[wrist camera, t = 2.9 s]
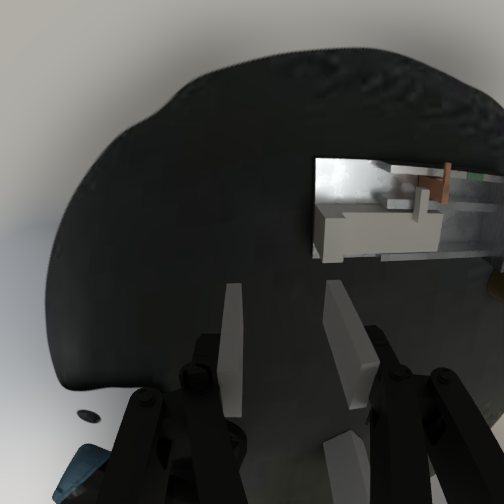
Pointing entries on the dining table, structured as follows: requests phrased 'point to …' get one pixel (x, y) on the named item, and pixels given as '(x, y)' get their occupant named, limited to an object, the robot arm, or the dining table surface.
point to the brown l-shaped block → (437, 185)
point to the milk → (348, 469)
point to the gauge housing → (403, 197)
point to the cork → (496, 285)
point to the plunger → (376, 229)
